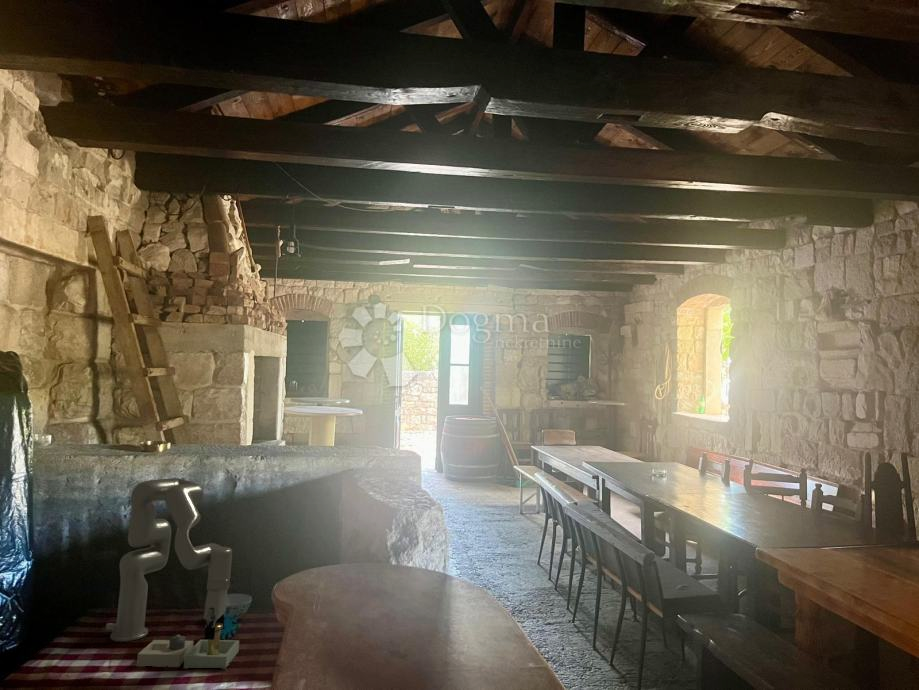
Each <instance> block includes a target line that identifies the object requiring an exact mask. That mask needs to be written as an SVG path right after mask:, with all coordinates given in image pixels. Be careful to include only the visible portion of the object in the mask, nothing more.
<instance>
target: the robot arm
mask: <svg viewBox="0 0 919 690" xmlns="http://www.w3.org/2000/svg"><path fill="white" fill-rule="evenodd" d="M130 495H131V496H130V497H131V498H130V501H131V502H130V504H131V514H130V520H129V527H128V528H129V529H128V535H127V539H128V540H127V542H128V545H130V547H131V548H139V549H136V550H131V551H129V552H127V553H125V554H124V555H123V556H122V557H121V558H120V561H119V573H120V574H119V577H120V586H119V596H118V606H117V607H118V608H117V614H116V615H117V617H116V622H115V623H114V622H113V623H112V622H111V623H110V622H107V623H106V625H105V631H107V632H108V631H111V634H110V639H111V640H112V641H114V642H122V643H123V642H131V641H132V642H133V641H135V640H136V641H137V640H139V639H142V638H144V637H147V635H148V633H149V629H148V628H147V627H145V620H146V611H147V603H148V602H147V601H148V589H149V585H148V582H147V580H146V578H145V576H144V575H147V574H149V573H154V572H158V571H160V570H162V569H164V567H165V566H166V565H167V563H168V559H169V555H170V546H171V541H172V540H171V539H172V527H171V523H170V522H169V521H168V520H167V519H165V518H156V513H157V510H156V507H155V506H156V505H155V504H154V503H158V502H165V504H166V506H167V509H168V511H169V512H170V514H171V516H172V519H173V521H174V523H175V525H176V527H177V530H176V533H175V536H174V551H175V554H176V555H177V558H178V560H179V562H180V564H181V565H182V566H183V567H184V568H185V569H186V570H190V571H191V570H197V569H200V568H203V567H204V568H205V567H208V572H207V573H208V574H207V583H206V590H207V594H206V598H205V604H204V612H203V613H204V614H203V620H204V621H205V625H204V626H205V627H204V639H203V640H213V639H214V636H215V627H214V626H215V623H222V624H223V628H224V620H225V617H224V616H225V611H226V605H227V595H228V590H229V589H230V585H231V576H232V575H231V574H232V573H231V571H232V562H233V549H232V548H231V547H228V546H221V545H220V544H217V543H213V542H210V543H206V544H201V545H196V546H193V544H192V543H191V540H190V536H189V533H190V530H191V529H192V528H194V527H195V526H196V525H197V524H199V522H200V521H201V519H202V517H201V516H202V515H201V513H200V512H199V510H198V508H197V506H196V505H198V504H201V502H202V501H203V498H204V491H203V488H202V487H201V486H200V485H199V484H198V483H196V482H195V481H190V480H187V479H182V478H178V477H170V478H159V479H158V478H157V479H151V480H145V481H141V482H139V483H138V484H136V485H135V486H134V487H133V489H132V491H131V494H130ZM147 546H150V547H147ZM142 547H145V548H142ZM212 623H213V624H212ZM223 628H221V629H223Z"/></svg>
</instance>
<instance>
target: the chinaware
mask: <svg viewBox="0 0 919 690" xmlns="http://www.w3.org/2000/svg"><path fill="white" fill-rule="evenodd" d="M252 600H253V598H252V596H251V595H249V594H243V593H231V594H228V593H227V605H226V611H225V613H226V614H228V616H227V617H226V618H225V619H228V618H229V617H230V615H233V619H229V620H234V619H238V620H240V619H239V618H241V616H243V615H244V614H245V613H246V612H247V611H248V610H249V607H250V606H251V604H252Z"/></svg>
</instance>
